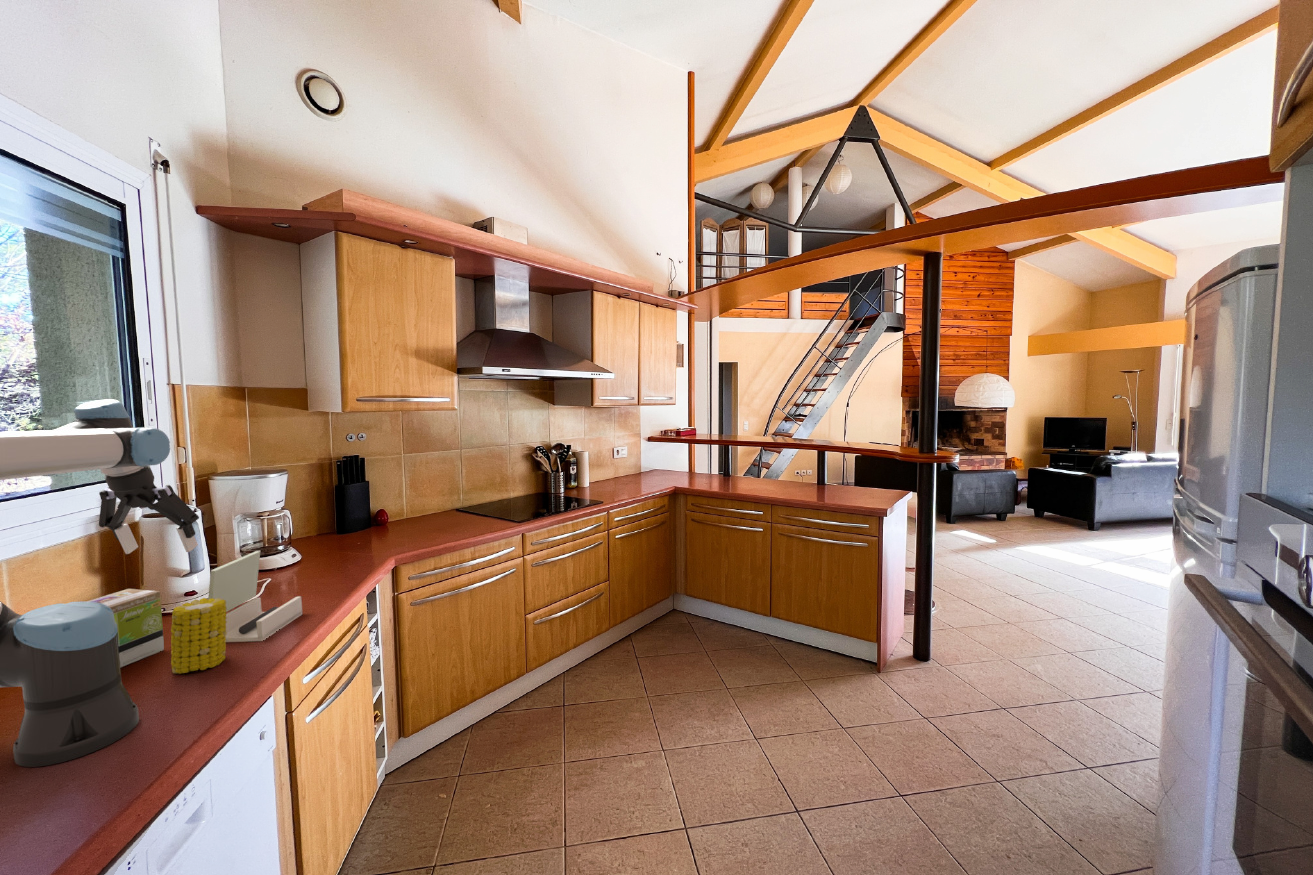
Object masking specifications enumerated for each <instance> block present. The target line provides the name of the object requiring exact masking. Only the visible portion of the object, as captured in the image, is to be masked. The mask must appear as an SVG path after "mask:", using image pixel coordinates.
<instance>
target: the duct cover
mask: <svg viewBox="0 0 1313 875" xmlns="http://www.w3.org/2000/svg"><path fill="white" fill-rule="evenodd" d="M260 556H261V551H260V550H259V551H258V550H255V551H253V552H251V553H249V554H246V555H243V556H241V557H239V558H236V559H235V560H232V561H230V562H227V563H225V564H223V565H220V566H218V567H215V568H214V569H210V575H209V576H210V577H209V584H208V585H209V586H208V596H207V599H208V600H209V599H211V598H213V599H215V600H216V599H218V598H220V599H221V600H222V599H223V600H225V601H226V605H225V606H226V608H227V609H226V613H228V612H230V611H232V610H234V608H235V609H236V608H238V606H241V605H243V604H245V602H246V603H247V602H248V601H250V600H252V599H254V598H256V596H257V587H258V581H259V580H258V579H259V571H260V570H259V568H260V558H261V557H260Z"/></svg>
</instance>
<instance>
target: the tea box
mask: <svg viewBox="0 0 1313 875" xmlns="http://www.w3.org/2000/svg"><path fill="white" fill-rule="evenodd" d="M85 602H97V603H101V604H104V605H107V606H108V607H110V608H111V609H112V611H113V614H114V619H115V622H116V624H117V634H118V647H119V659H120V669H121V668H123V667H125V666H127V665H130V664H133V663H135V662H138V661H140V660H144V659H146V658H148V657H150V656H152V655H155V654H158V653H160V651H161V652H163V651H164V649H165V645H164V644H165V643H164V640H165V638H164V627H163V617H162V616H163V615H162V601H161V591H158V590H147V589H136V588H126V589H124V590H120V591H117V592H113V593H109V594H106V595H103V596H100V597H97V598H93V599H90V600H87V601H85Z"/></svg>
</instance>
